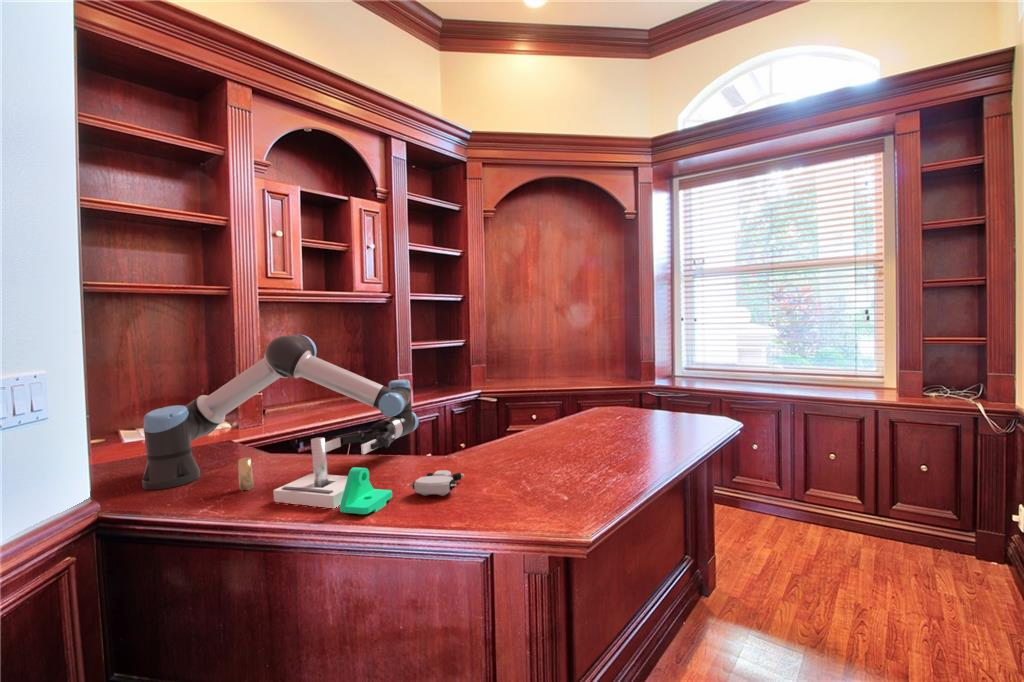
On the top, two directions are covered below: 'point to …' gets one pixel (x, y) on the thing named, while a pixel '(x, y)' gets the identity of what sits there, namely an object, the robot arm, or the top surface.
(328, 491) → the hole plate
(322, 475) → the long pin
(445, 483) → the robot toy
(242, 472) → the short pin
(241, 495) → the top surface
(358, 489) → the camera mount
